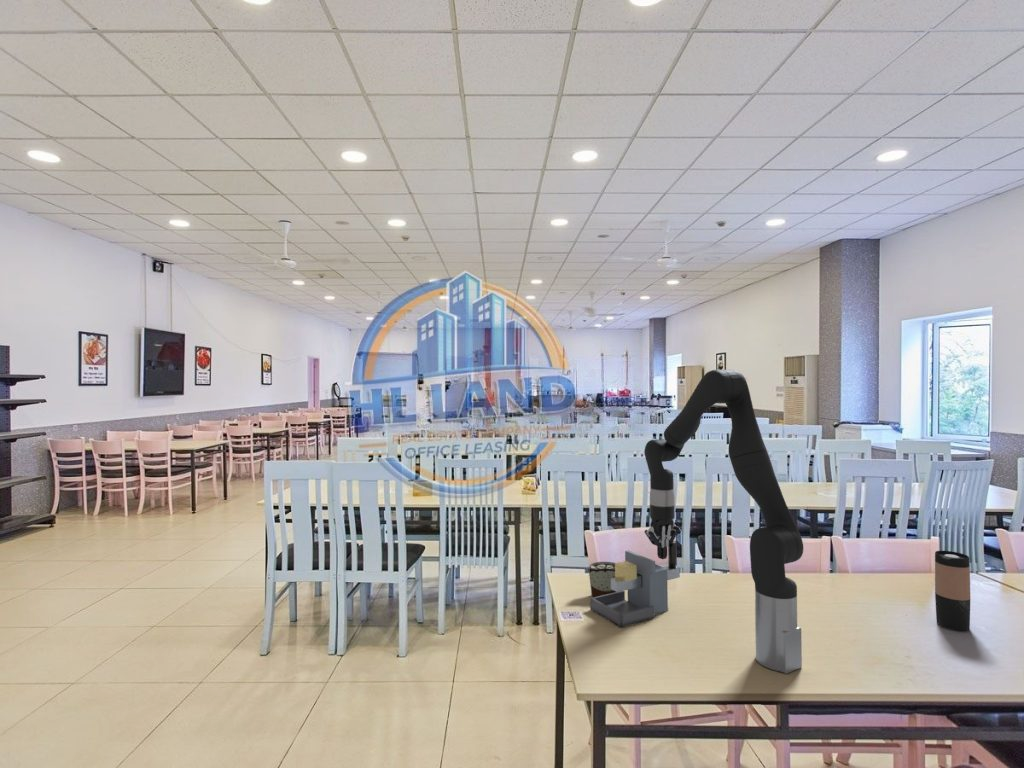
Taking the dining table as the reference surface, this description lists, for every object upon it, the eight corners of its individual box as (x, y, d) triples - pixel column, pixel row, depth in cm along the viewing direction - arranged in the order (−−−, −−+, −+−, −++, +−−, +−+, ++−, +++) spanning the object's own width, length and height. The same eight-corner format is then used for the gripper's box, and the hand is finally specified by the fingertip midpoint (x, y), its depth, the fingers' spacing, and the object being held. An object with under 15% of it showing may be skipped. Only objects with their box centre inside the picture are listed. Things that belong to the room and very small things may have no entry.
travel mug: (961, 621, 151) (960, 551, 151) (977, 633, 143) (976, 560, 144) (930, 618, 153) (929, 549, 153) (943, 630, 145) (942, 557, 146)
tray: (654, 618, 154) (654, 606, 154) (620, 627, 148) (620, 615, 148) (623, 601, 167) (622, 590, 167) (590, 609, 161) (590, 598, 161)
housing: (670, 612, 158) (669, 558, 159) (652, 616, 155) (651, 561, 155) (642, 598, 169) (642, 547, 169) (625, 602, 166) (625, 550, 166)
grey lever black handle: (679, 577, 167) (679, 542, 167) (617, 592, 155) (617, 554, 155) (672, 574, 169) (672, 540, 169) (610, 588, 157) (610, 551, 158)
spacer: (636, 578, 157) (636, 565, 157) (624, 581, 155) (624, 567, 155) (626, 574, 161) (626, 561, 161) (615, 576, 159) (614, 563, 159)
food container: (624, 591, 175) (623, 561, 175) (626, 599, 168) (625, 567, 169) (586, 590, 176) (586, 560, 176) (587, 597, 170) (586, 566, 170)
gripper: (654, 507, 159) (655, 565, 159) (686, 502, 165) (686, 558, 165) (637, 502, 166) (638, 558, 165) (668, 498, 172) (669, 551, 172)
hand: (662, 558), depth 165 cm, fingers closed
